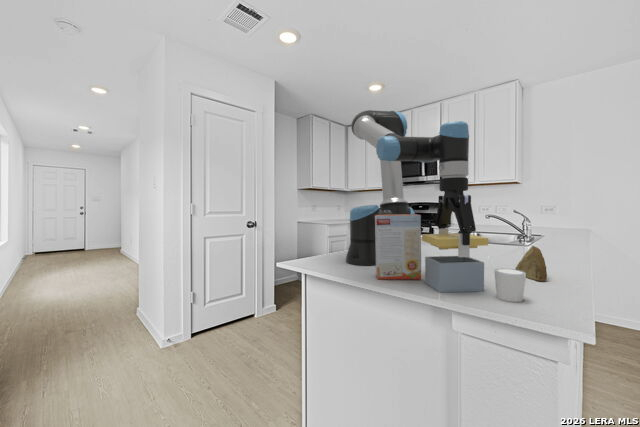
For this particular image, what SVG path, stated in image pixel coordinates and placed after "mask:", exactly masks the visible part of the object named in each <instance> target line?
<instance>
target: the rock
mask: <svg viewBox="0 0 640 427" xmlns="http://www.w3.org/2000/svg"><path fill="white" fill-rule="evenodd" d="M514 270H520V271H523V272H525V273H526V278H527V279H531V280H534V281H537V282H538V281H539V282H546V281H547V277H548V273H547V272H548V271H547V265H546V261H545V258H544V256H543V253H542V250H541V249H540V248H539V247H537V246H535V245H532V246H531V247H530V248H529V249H528V250H527V251H526V252H525V253H524V255H523V256H522V258H521V260H520V261H519V262H518V263H517V264H516V267H515V269H514Z"/></svg>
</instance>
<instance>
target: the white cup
mask: <svg viewBox="0 0 640 427" xmlns="http://www.w3.org/2000/svg"><path fill="white" fill-rule="evenodd" d="M493 272H494V282H495V290H496V292H495V293H496V297H497V298H498V299H499V300H502V301H506V302H510V303H511V302H512V303H514V302H515V303H521V302H523V301H524V300H523V299H524V292H525V286H526V278H527V277H526V273H525V272H523V271H520V270H515V269H514V268H496V269H494V270H493Z"/></svg>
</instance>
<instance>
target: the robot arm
mask: <svg viewBox="0 0 640 427" xmlns="http://www.w3.org/2000/svg"><path fill="white" fill-rule="evenodd" d="M407 130H408V122H407V117H406V116H405V115H404V114H403V113H402V112H400V111H395V110H390V111H389V110H388V111H387V110H373V109H372V110H371V109H370V110H369V109H368V110H363V111H360V112H359V113H358V114H356V115H355V116H354V118H352V122H351V132H352V134H353V135H354V136H355V137H356V138H358V139H360V140H364V141H366V142H367V143H368V144H369V145H371V146H372V147H374V148H375V150H376V155H377V158H378V159H379V160H380V161H379V162H380V174H381V175H380V178H381V190H382V201H381V202H380V204H379V205H378V204H369V205H362V206H356V207H353V208H351V209H350V212H349V236H350V237H349V240H350V241H349V242H350V243H349V246H348V250H347V253H346V257H345V258H346V259H345V260H346V261H345V262H346V263H347V264H350V265H353V266H354V265H355V266H376V245H375V215H389V214H416V213H415V211H414V209H413V208H412V207H410V206H409V202H408V201H407V200H406V199H405V198H404V197H405V196H404V186H403V170H402V162H420V163H424V164H425V163H426V164H428V163H434V162H437V161H439V165H438V169H439V177H440V179H439V191H440V192H443V193H444V195H438V204H437V210H436V216H435V221H434V225H435V226H437V228H438V234H449V223H450V219H451V217H452V214H453V213H454V216H455V219H456V221H457V225H458V228H459V231H458V232H457V234H458V233H459V238H458V239H459V243H458V250H457V252H458V255H457V256H458V257H470V250H471V248H470V234H472V233H474V232H476V231H477V228H476V223H475V217H474V213H473V208H472V196H471V194H467V195H466V194H465V193H464V192H465V191H468V190H469V178H468V175H469V152H470V151H469V148H470V147H469V146H470V145H469V143H470V142H469V141H470V134H469V133H470V132H469V131H470V130H469V124H468V123H467V122H465V121H463V120H462V121H460V120H459V121H457V120H455V121H448V122H445V123H443V124H441V125H440V127H439V133H438V135H435V136H431V137H430V136H429V137H428V136H406V134H407ZM438 250H442V251H443V250H445V249H441V248H438ZM470 258H471V257H470Z"/></svg>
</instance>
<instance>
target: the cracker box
mask: <svg viewBox="0 0 640 427" xmlns="http://www.w3.org/2000/svg"><path fill="white" fill-rule="evenodd" d="M421 219H422V215H421V214H417V213H415V214H389V215H375V245H376V265H375V275H376V279H377V280H413V281H414V280H418V281H419V280H422V230H421V228H422V226H421V224H422V220H421Z"/></svg>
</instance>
